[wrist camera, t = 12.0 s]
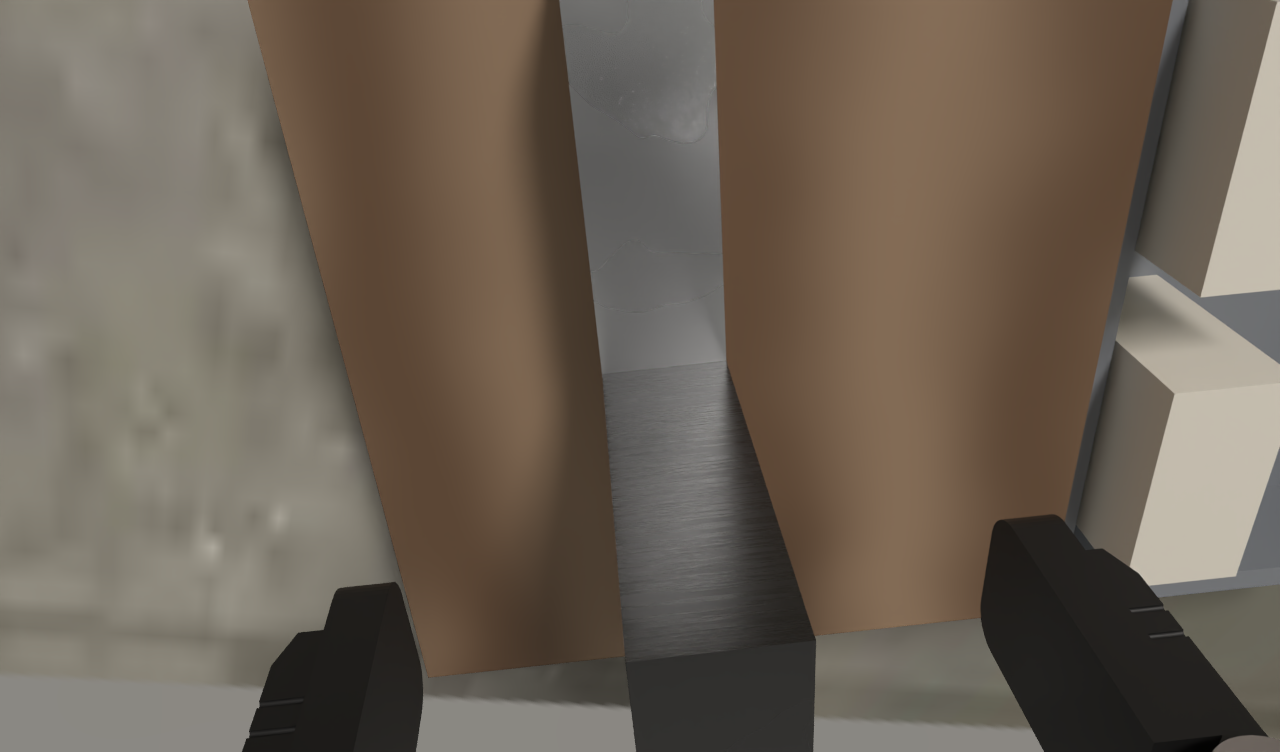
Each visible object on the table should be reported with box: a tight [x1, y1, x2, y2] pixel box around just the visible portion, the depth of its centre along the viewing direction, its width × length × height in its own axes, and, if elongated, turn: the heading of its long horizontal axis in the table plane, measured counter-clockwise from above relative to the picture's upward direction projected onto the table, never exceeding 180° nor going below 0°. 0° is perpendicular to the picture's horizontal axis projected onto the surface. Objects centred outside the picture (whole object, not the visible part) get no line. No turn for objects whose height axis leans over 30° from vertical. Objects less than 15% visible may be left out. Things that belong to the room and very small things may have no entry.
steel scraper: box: [559, 0, 816, 752], centre depth 14 cm, size 2×15×9 cm, turn 4°
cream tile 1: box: [1135, 0, 1280, 297], centre depth 18 cm, size 5×5×2 cm
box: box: [1065, 0, 1280, 597], centre depth 21 cm, size 10×17×4 cm, turn 4°
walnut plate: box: [248, 0, 1173, 678], centre depth 20 cm, size 15×16×4 cm
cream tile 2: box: [1076, 275, 1280, 586], centre depth 21 cm, size 5×5×2 cm
